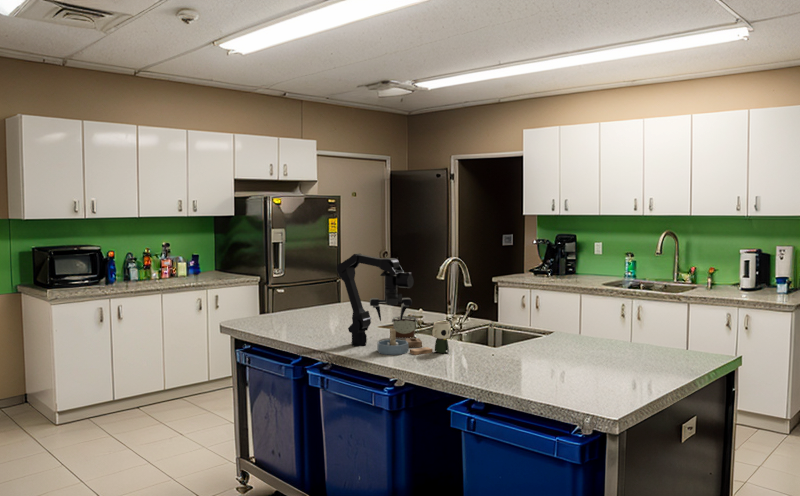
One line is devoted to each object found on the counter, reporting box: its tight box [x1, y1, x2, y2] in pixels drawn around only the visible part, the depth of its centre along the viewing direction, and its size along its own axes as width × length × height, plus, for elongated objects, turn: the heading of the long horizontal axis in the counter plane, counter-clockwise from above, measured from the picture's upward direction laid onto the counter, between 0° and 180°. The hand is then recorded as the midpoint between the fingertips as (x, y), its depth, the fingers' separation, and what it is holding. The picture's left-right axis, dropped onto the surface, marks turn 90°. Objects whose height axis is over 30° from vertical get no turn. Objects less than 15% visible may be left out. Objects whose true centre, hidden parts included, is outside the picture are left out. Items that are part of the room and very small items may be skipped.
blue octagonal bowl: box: [376, 338, 410, 356], centre depth 269 cm, size 13×13×4 cm
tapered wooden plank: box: [409, 346, 434, 356], centre depth 266 cm, size 9×4×2 cm, turn 120°
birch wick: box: [389, 328, 397, 346], centre depth 268 cm, size 2×4×9 cm, turn 8°
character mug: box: [431, 321, 452, 354], centre depth 266 cm, size 11×7×13 cm, turn 132°
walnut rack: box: [404, 337, 423, 349], centre depth 281 cm, size 7×8×2 cm
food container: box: [391, 315, 418, 339], centre depth 300 cm, size 12×6×10 cm, turn 84°
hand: (390, 320), depth 274 cm, fingers open, 9 cm apart
